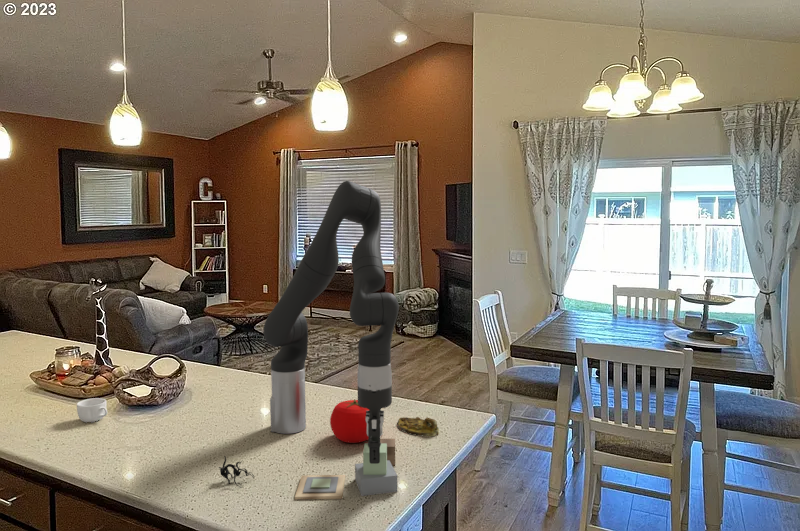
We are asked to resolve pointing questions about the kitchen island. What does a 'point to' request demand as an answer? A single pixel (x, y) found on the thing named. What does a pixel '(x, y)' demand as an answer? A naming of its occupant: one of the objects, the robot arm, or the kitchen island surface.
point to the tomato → (349, 422)
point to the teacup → (92, 409)
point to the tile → (321, 487)
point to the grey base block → (376, 481)
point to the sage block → (375, 468)
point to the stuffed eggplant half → (418, 426)
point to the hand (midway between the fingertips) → (375, 454)
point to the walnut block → (390, 449)
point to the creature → (235, 471)
